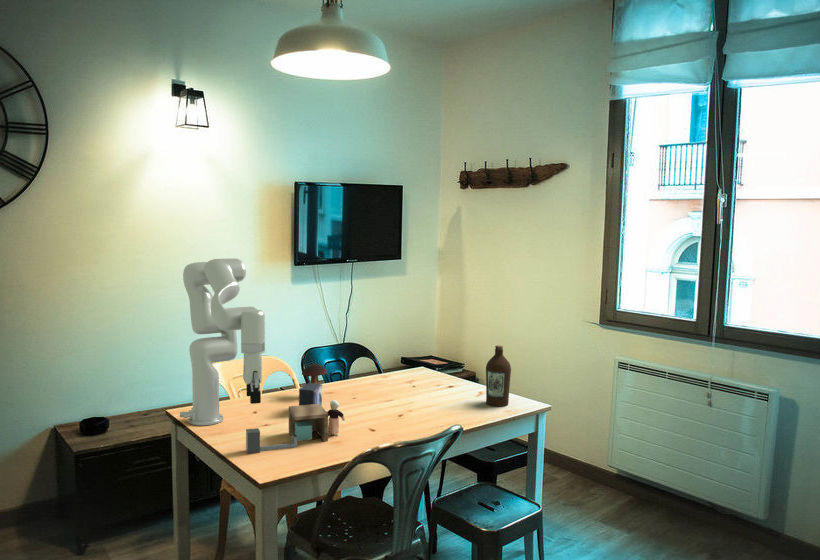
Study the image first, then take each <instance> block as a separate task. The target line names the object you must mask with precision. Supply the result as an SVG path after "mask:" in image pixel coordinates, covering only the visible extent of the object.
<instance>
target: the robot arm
mask: <svg viewBox="0 0 820 560" xmlns="http://www.w3.org/2000/svg"><path fill="white" fill-rule="evenodd" d="M182 273H183V274H182V280H183V285H184V288H185V290H186V293H187V296H188V302H189V309H190V311H189V313H190V322H191V323H190V324H191V329H192V332H193V333H195V334H197V335H210V334H220V335H221V336H210V337H209V336H208V337H201V338H198V339H195V340H193V341H192V342H191V343H190V345H189V349H188V350H189V351H188V352H189V357H190V363H191V375H192V377H191V378H192V384H191V385H192V387H191V388H192V407H191V410H188V411H179V417H180V418H183V419H188V423H189V424H191V425H193V426H211V425H216V424H219V423H222V422H223V421H224V415H222V414H220V375H219V371H218V370H217V368H215V366H213V364H214V363H219V362H227V361H232V360H234V359H236V357H237V355H238V337H237V331H238V330H239V331H240V353H241V354H243V367H242V368H243V369H242V371H243V373H242V379H243V381H244V383H245V384H246V385H245V386H246V397H249V403H250V405H253V404H254V405H255V404H261V403H262V402H261V401H262V400H261V399H262V397H261V395H262V393H261V392H262V391H261V385H260V384H261V383H262V380H263V378H262V376H263V367H262V366H263V364H262V363H263V361H262V358H263V357H262V355H263V353H265V352H266V335H265V334H266V331H265V330H266V328H265V327H266V326H265V325H266V324H265V323H266V321H265V319H266V317H265V312H264V311H263V310H261V309H257V308H256V307H255V306H236V307H224V306H223V305H225V304H226V303H228V302H230V301H233V300H234V299H235V298H236V297H237V296H238V295H239V294H240V293H239V292H240V290H241V289H240V288H241V287H240V284H239V282H242V281H243V280H244V279H245V277H246V275H247V269H246V265H245V264H244V262H243V261H242V260H241V259H239V258H213V259H210V260H207V261H201V262H200V261H199V262H198V261H197V262H191V263H189V264H186V266H185V267H184V268H183V272H182ZM208 285H209V286H210V287H211V289H212V291H213V294H212V293H211V291H210V290H209V289H208V288H207V287H206V286H208Z"/></svg>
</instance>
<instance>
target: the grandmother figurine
mask: <svg viewBox="0 0 820 560" xmlns="http://www.w3.org/2000/svg"><path fill="white" fill-rule="evenodd" d="M329 405H330V409H329V410H327V411H326V412H327V413H328V437H329V436H332V435H333V437H337V436H339V430H340V419H339V417H340V418H341V420H342V421H346V418H345V415H344V414H343V412H342V411H340V410H338V408H339V407H340V403H339V401H337V400H336V399H331V401H330V403H329Z"/></svg>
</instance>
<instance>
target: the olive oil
mask: <svg viewBox="0 0 820 560" xmlns="http://www.w3.org/2000/svg"><path fill="white" fill-rule="evenodd" d="M511 373H512V365H511V364H510V362H509V360H508V359H507V357H506V356H504V346H503V345H495V349H494V354H493V356H492V357H491V358H490V359H489V360H488V361H487V363H486V366H485V384H486V385H485V386H486V387H485V388H486V389H485V390H486V391H485V392H486V393H485V399H486V400H485V401H486V402H485V403H486V405H488V406H491V407H498V408H499V407H507V406H508V405H509V398H510V386H511Z"/></svg>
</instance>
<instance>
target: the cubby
mask: <svg viewBox="0 0 820 560" xmlns="http://www.w3.org/2000/svg"><path fill="white" fill-rule="evenodd" d="M327 412H328V411H326V410H325V408H323V405H322V406H321V405H320V404H311V405H299V404H298V405H289V406H288V434H289V435H291V433H295V422H305V421H309V422H310V423H311V425H312V432H317V433H318V435H319V436H320V437H321V439H322V440H323V441H324V442H328V441H329V436H328V424H329V416H328V413H327Z"/></svg>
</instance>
